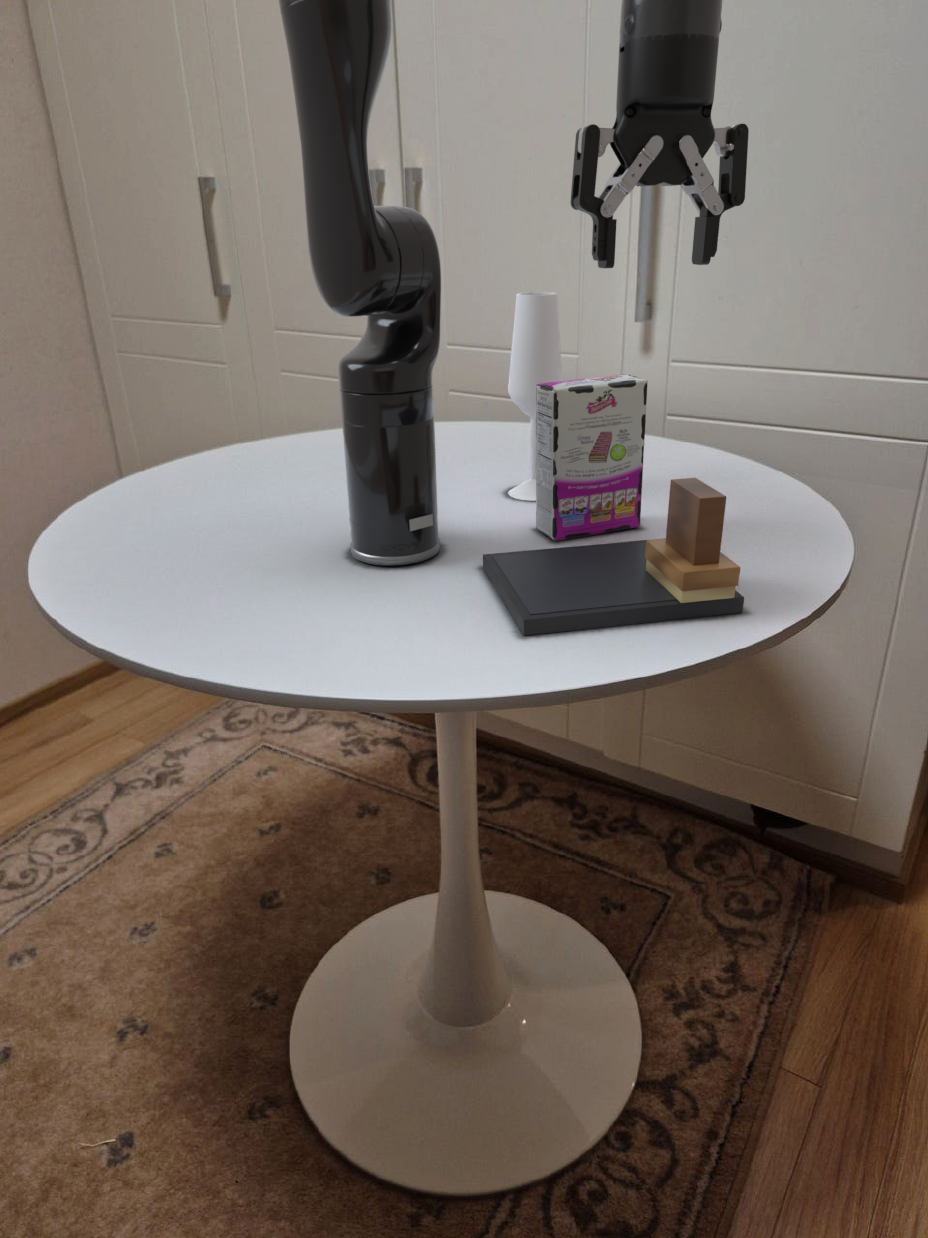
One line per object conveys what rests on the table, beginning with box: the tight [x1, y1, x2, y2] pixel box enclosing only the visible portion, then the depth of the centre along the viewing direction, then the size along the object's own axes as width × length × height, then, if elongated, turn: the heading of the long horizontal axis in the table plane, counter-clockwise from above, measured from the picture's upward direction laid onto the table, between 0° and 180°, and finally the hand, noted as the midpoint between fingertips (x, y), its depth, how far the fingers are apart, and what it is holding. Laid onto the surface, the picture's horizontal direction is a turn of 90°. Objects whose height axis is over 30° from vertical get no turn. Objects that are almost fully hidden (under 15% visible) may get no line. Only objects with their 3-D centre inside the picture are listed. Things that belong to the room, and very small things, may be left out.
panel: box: [482, 539, 745, 637], centre depth 81 cm, size 16×20×2 cm
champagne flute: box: [507, 291, 564, 502], centre depth 105 cm, size 7×7×24 cm
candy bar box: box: [535, 374, 649, 542], centre depth 94 cm, size 11×5×16 cm, turn 112°
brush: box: [645, 477, 741, 603], centre depth 76 cm, size 8×5×9 cm, turn 11°
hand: (653, 266), depth 73 cm, fingers open, 8 cm apart
